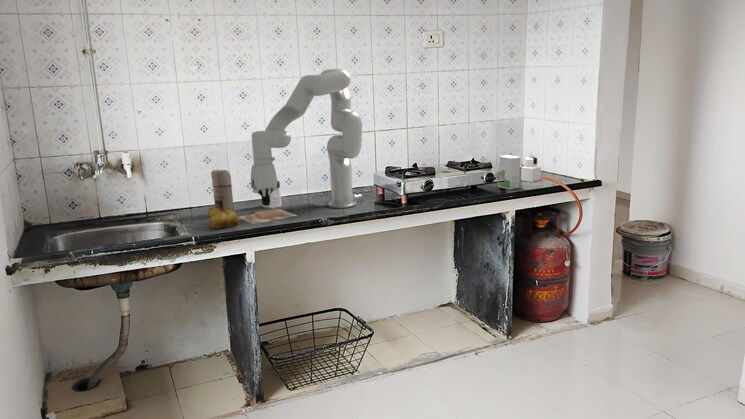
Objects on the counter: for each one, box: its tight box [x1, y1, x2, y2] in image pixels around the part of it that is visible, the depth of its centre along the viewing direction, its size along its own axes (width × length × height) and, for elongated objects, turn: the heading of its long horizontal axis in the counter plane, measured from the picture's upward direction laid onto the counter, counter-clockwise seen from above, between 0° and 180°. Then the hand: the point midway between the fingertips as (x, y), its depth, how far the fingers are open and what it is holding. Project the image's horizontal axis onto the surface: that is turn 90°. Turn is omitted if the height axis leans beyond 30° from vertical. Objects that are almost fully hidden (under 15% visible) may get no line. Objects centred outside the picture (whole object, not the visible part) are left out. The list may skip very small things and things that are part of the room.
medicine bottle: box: [520, 156, 541, 183], centre depth 319 cm, size 7×7×12 cm
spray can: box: [210, 168, 235, 211], centre depth 267 cm, size 8×8×20 cm
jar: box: [262, 180, 282, 209], centre depth 277 cm, size 9×8×12 cm
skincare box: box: [497, 154, 521, 190], centre depth 302 cm, size 8×7×16 cm
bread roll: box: [207, 206, 242, 229], centre depth 249 cm, size 13×10×8 cm
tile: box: [254, 208, 282, 219], centre depth 258 cm, size 2×7×9 cm
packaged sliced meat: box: [239, 208, 298, 225], centre depth 258 cm, size 20×16×1 cm
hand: (266, 205), depth 257 cm, fingers closed
